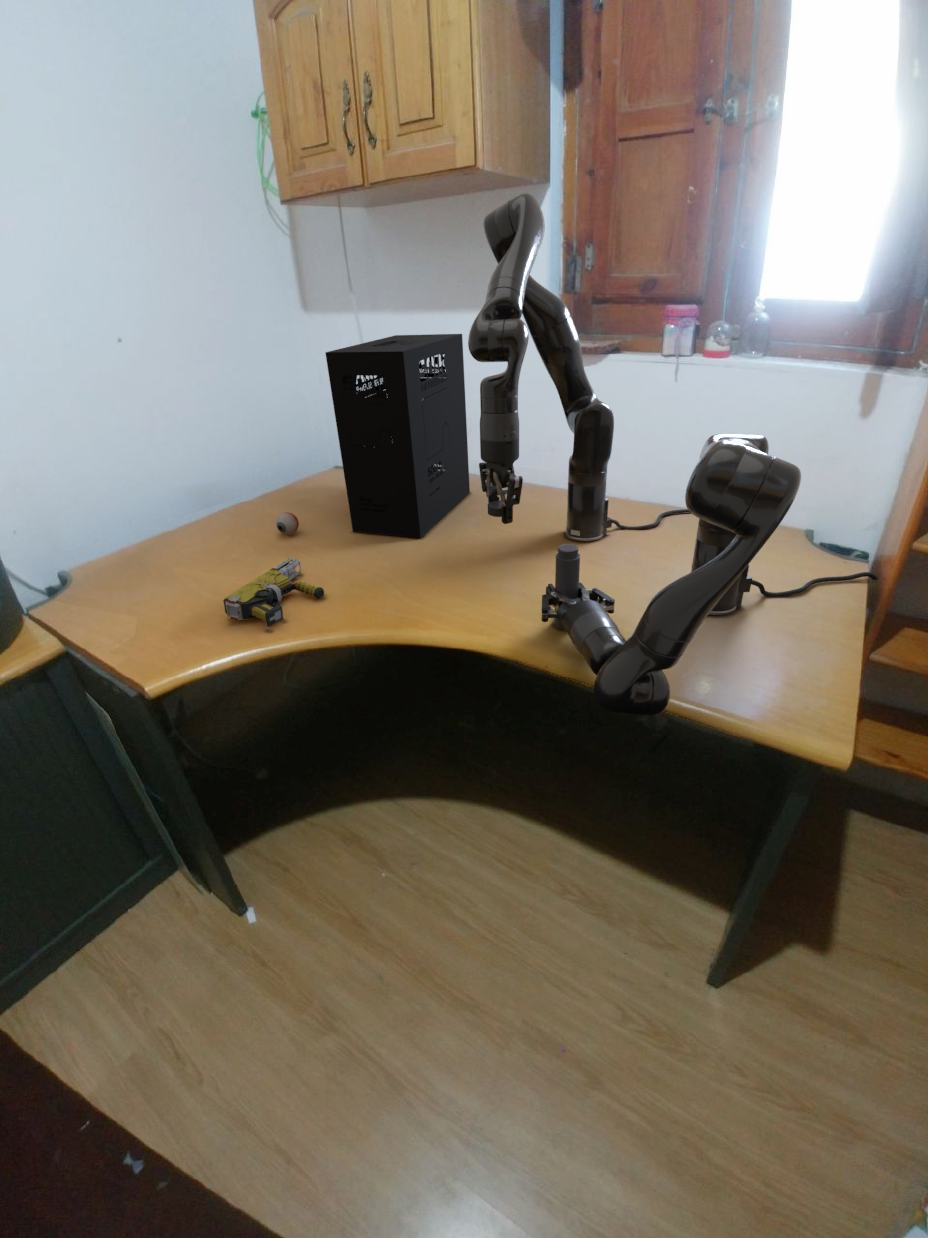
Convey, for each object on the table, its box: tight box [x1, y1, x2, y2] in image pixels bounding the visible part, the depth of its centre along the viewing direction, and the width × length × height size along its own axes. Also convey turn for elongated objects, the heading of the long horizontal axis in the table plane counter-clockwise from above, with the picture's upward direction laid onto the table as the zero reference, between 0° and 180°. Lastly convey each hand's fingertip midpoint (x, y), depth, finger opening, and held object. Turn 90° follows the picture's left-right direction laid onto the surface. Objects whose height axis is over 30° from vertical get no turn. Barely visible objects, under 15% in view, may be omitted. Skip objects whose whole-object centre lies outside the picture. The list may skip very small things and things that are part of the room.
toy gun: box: [222, 557, 325, 628], centre depth 130 cm, size 5×24×15 cm
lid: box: [487, 499, 502, 518], centre depth 123 cm, size 5×5×2 cm
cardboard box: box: [325, 333, 471, 539], centre depth 165 cm, size 38×20×45 cm, turn 159°
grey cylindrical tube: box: [553, 543, 581, 631], centre depth 112 cm, size 4×4×16 cm
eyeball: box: [275, 511, 300, 536], centre depth 163 cm, size 6×6×6 cm
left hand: (500, 518), depth 124 cm, fingers closed on lid, 5 cm apart
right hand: (562, 586), depth 115 cm, fingers closed on grey cylindrical tube, 4 cm apart
